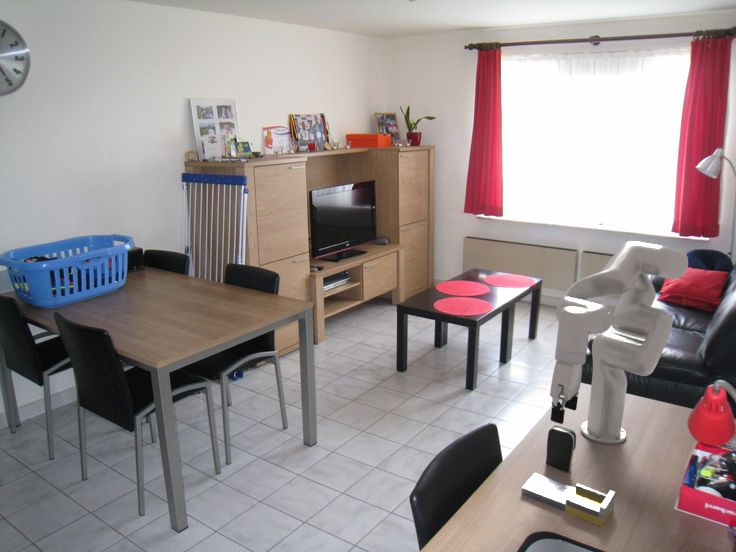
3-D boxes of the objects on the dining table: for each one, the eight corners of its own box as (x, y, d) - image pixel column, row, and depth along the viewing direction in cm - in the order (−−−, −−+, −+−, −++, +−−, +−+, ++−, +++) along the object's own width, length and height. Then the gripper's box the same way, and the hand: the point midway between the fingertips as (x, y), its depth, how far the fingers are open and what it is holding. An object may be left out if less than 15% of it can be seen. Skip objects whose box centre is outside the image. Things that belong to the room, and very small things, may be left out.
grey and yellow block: (534, 479, 157) (535, 462, 156) (613, 509, 145) (615, 491, 144) (521, 494, 151) (523, 476, 149) (602, 527, 139) (605, 508, 138)
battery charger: (574, 468, 162) (578, 430, 159) (569, 474, 159) (573, 435, 156) (549, 458, 166) (553, 421, 163) (544, 464, 164) (547, 427, 160)
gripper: (568, 342, 163) (561, 399, 167) (543, 360, 150) (537, 423, 154) (596, 348, 158) (588, 408, 163) (573, 368, 145) (565, 432, 149)
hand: (563, 415), depth 158 cm, fingers open, 9 cm apart
